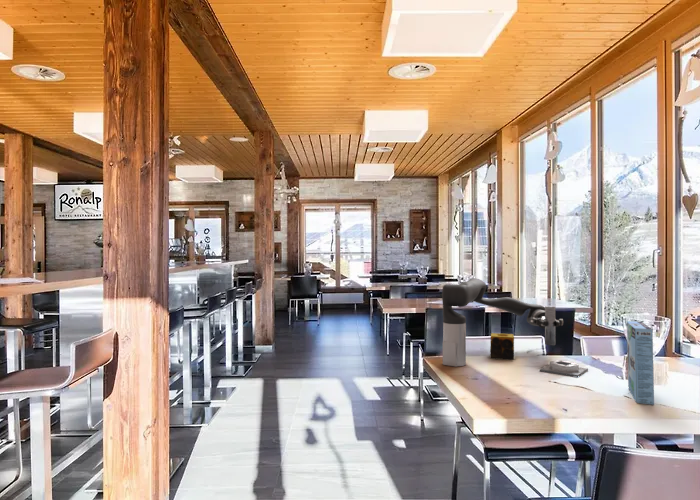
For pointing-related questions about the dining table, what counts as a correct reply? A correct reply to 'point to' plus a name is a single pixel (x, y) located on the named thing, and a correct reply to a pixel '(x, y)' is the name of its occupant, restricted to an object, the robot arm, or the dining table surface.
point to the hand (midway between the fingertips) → (551, 324)
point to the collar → (564, 368)
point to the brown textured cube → (502, 346)
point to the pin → (550, 325)
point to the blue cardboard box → (640, 362)
